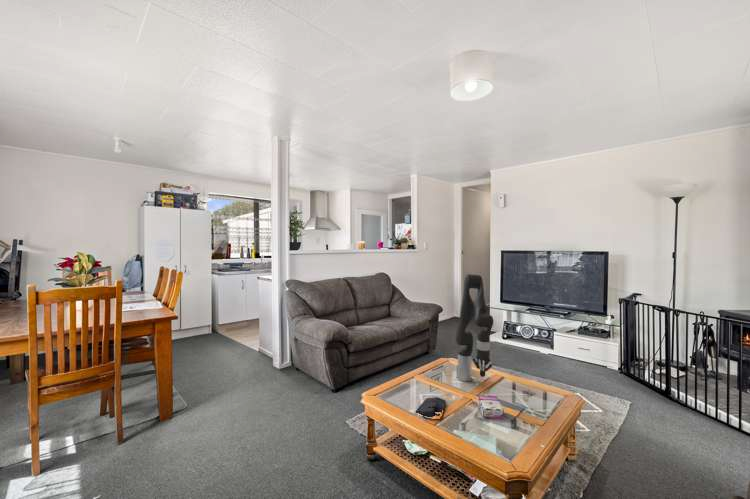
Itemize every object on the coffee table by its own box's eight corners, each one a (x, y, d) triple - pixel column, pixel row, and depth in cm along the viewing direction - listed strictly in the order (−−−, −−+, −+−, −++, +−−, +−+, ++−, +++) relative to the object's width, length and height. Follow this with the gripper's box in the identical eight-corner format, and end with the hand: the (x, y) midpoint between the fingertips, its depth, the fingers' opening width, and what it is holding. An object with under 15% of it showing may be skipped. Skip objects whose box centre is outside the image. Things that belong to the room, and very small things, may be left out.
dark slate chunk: (450, 404, 192) (450, 396, 192) (440, 422, 172) (440, 413, 172) (425, 398, 199) (425, 391, 199) (412, 415, 179) (412, 407, 179)
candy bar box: (476, 402, 192) (482, 417, 176) (476, 394, 192) (482, 408, 176) (496, 404, 191) (504, 418, 175) (496, 395, 191) (504, 409, 175)
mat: (485, 410, 184) (485, 409, 184) (498, 399, 197) (498, 398, 197) (512, 420, 174) (512, 419, 174) (524, 408, 187) (524, 407, 187)
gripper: (470, 346, 196) (469, 375, 197) (491, 352, 187) (490, 381, 188) (476, 344, 202) (475, 371, 202) (496, 349, 192) (496, 378, 193)
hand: (482, 376), depth 195 cm, fingers closed
